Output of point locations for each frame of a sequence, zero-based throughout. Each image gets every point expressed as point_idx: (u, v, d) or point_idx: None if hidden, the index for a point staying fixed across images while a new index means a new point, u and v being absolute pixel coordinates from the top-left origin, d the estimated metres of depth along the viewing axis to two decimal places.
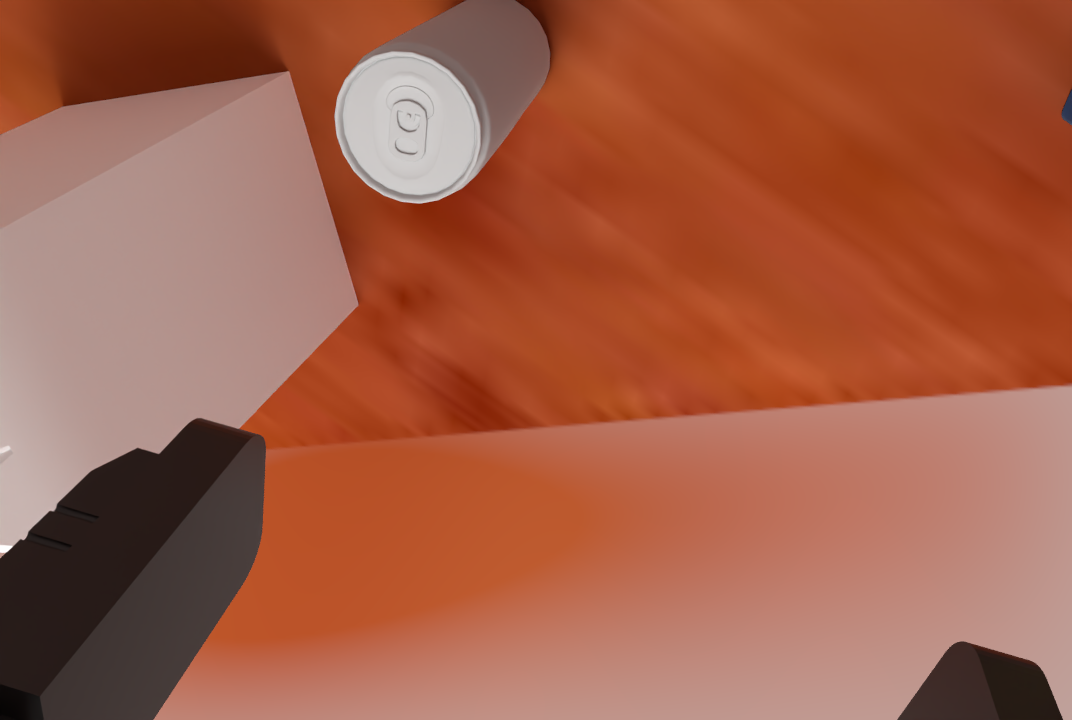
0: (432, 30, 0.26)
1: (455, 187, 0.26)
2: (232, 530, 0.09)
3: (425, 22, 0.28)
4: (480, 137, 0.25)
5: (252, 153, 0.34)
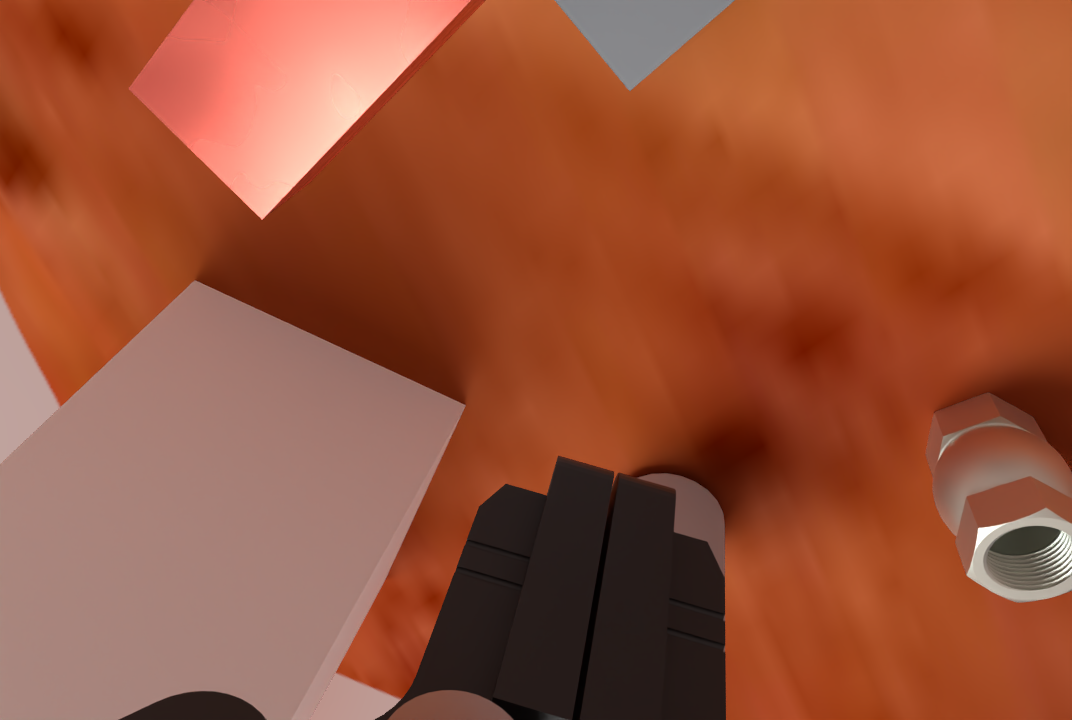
0: None
1: None
2: None
3: None
4: None
5: (408, 516, 0.32)
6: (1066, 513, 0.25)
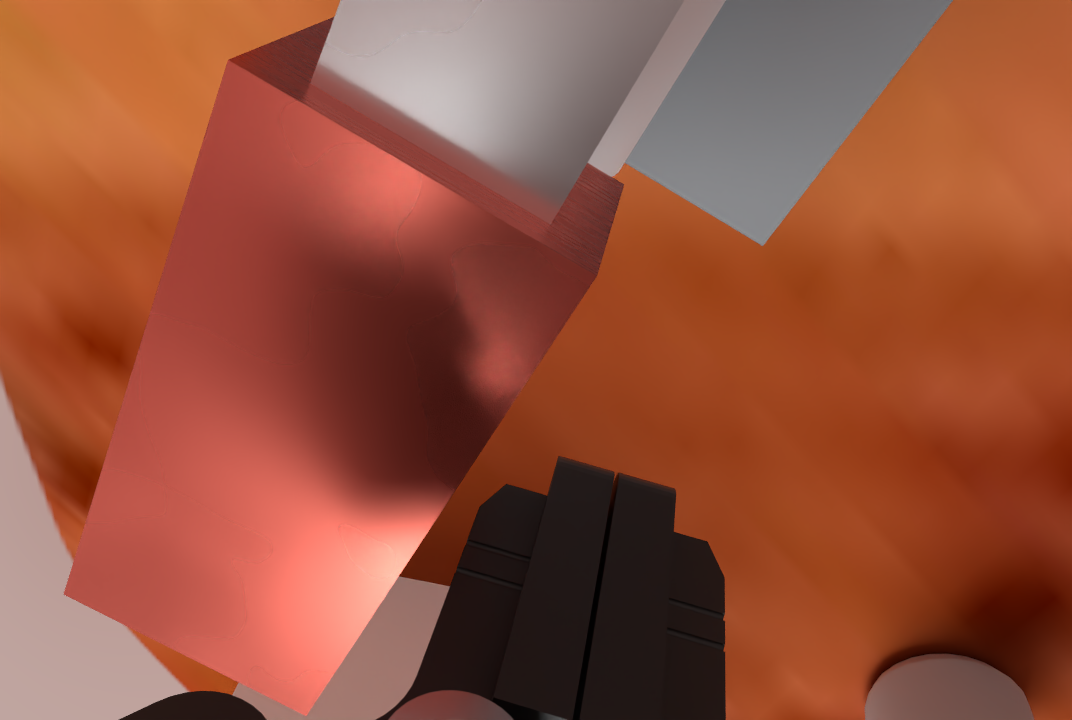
0: None
1: None
2: None
3: None
4: None
5: None
6: None
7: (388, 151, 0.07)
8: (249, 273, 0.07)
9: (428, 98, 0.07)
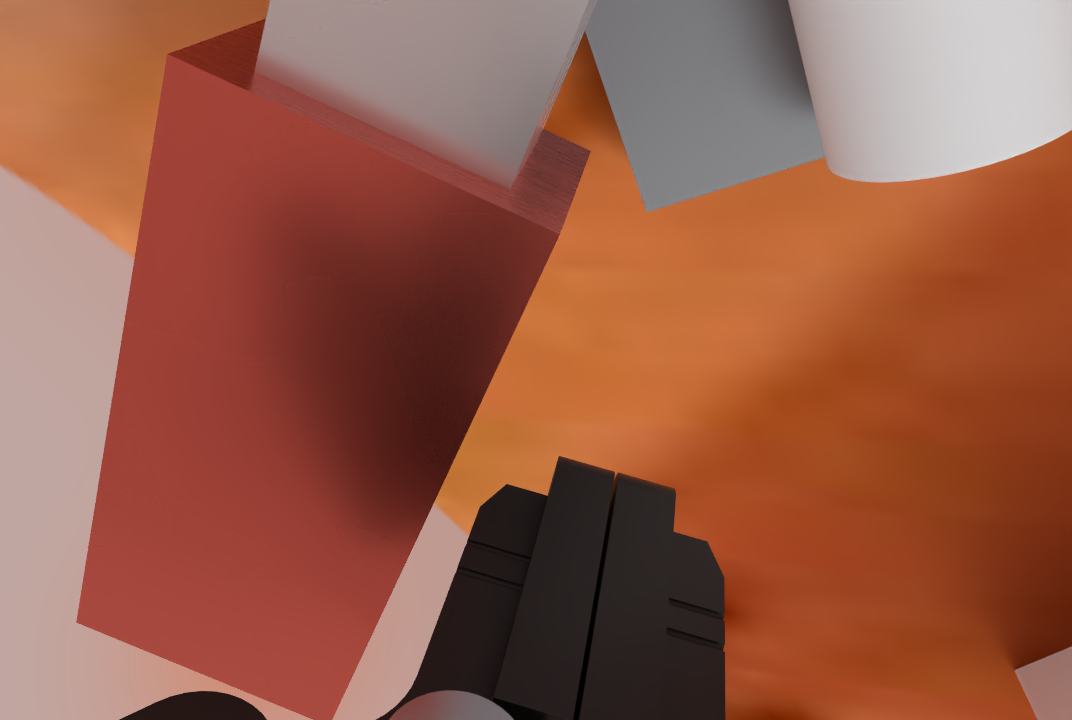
0: None
1: None
2: None
3: None
4: None
5: None
6: None
7: (336, 129, 0.06)
8: (215, 271, 0.07)
9: (372, 73, 0.06)
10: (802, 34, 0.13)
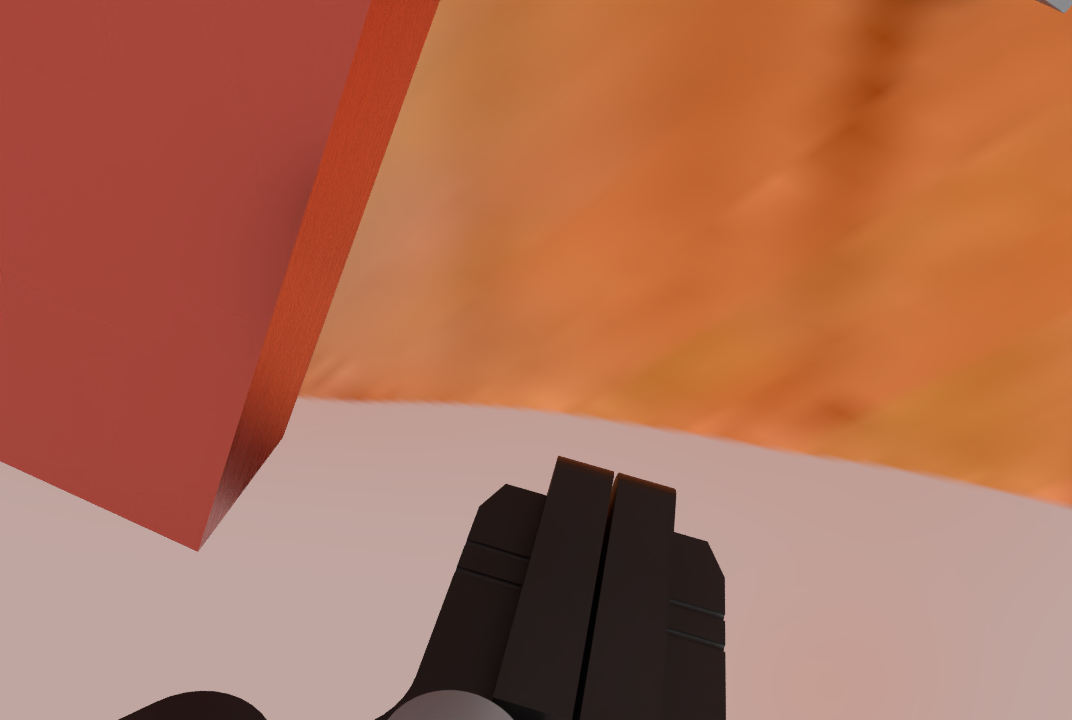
0: None
1: None
2: None
3: None
4: None
5: None
6: None
7: None
8: None
9: None
10: None
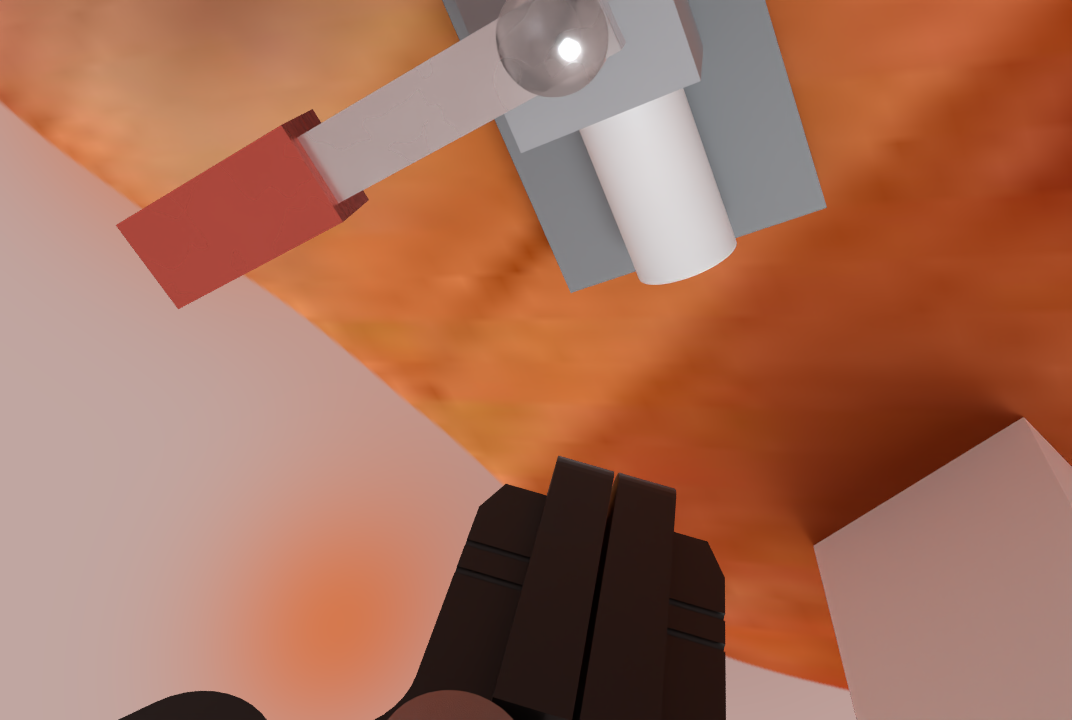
0: None
1: None
2: None
3: None
4: None
5: None
6: None
7: (308, 166, 0.25)
8: (253, 171, 0.25)
9: (324, 158, 0.25)
10: (617, 226, 0.33)
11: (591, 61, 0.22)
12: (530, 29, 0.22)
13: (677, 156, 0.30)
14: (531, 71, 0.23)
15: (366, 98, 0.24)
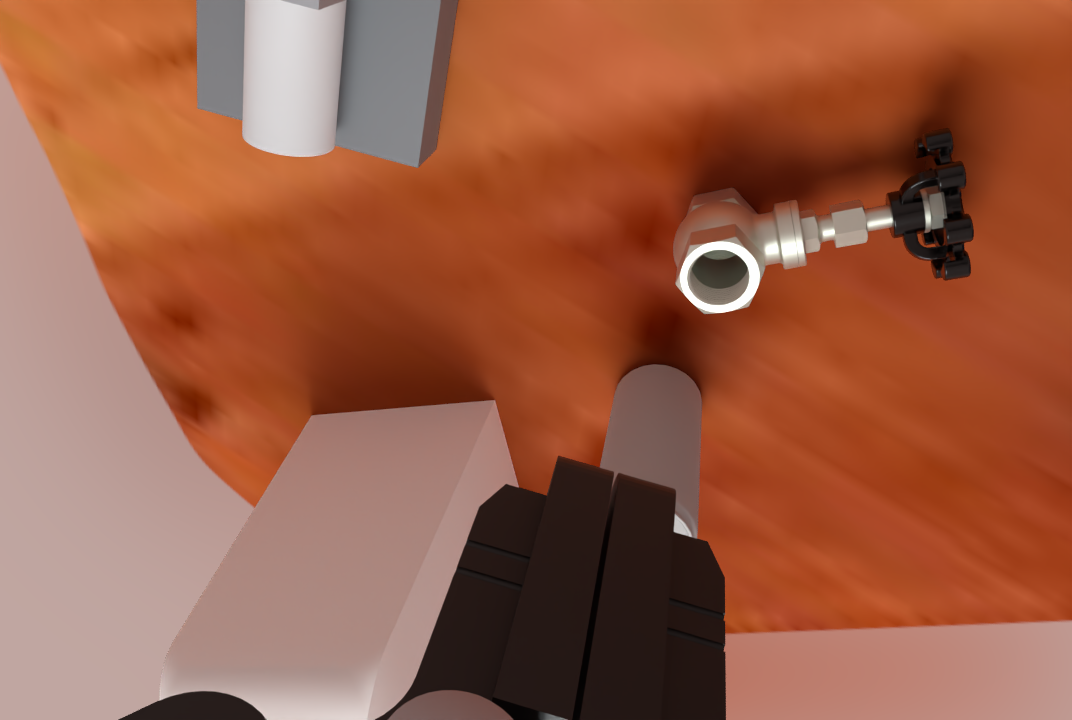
0: (650, 461, 0.38)
1: None
2: None
3: (633, 432, 0.40)
4: None
5: (482, 481, 0.46)
6: (709, 238, 0.36)
7: None
8: None
9: None
10: None
11: None
12: None
13: (305, 55, 0.34)
14: None
15: None
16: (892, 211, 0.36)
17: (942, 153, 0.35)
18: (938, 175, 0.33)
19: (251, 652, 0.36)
